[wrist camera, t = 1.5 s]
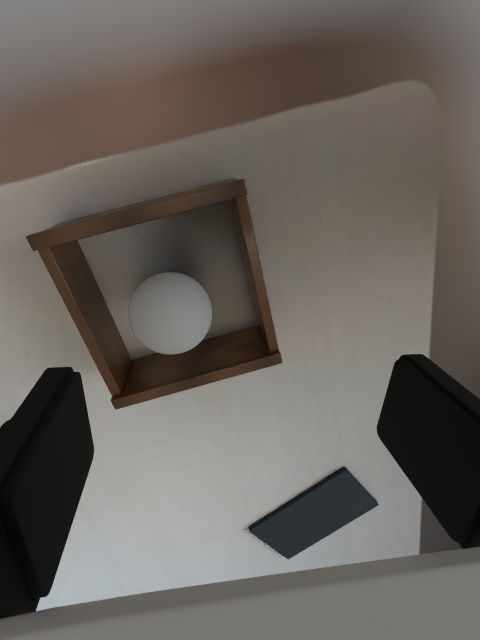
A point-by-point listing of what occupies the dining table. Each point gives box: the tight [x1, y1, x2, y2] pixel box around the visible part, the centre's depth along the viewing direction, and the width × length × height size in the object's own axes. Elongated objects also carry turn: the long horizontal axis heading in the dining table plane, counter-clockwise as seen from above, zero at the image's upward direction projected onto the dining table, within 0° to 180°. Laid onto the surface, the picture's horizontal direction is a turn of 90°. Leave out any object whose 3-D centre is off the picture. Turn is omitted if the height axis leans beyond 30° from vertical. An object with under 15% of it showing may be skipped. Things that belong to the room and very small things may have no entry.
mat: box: [249, 467, 378, 559], centre depth 47 cm, size 16×10×1 cm, turn 127°
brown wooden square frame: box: [26, 178, 282, 409], centre depth 27 cm, size 15×15×6 cm
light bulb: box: [128, 272, 212, 355], centre depth 26 cm, size 6×6×10 cm
